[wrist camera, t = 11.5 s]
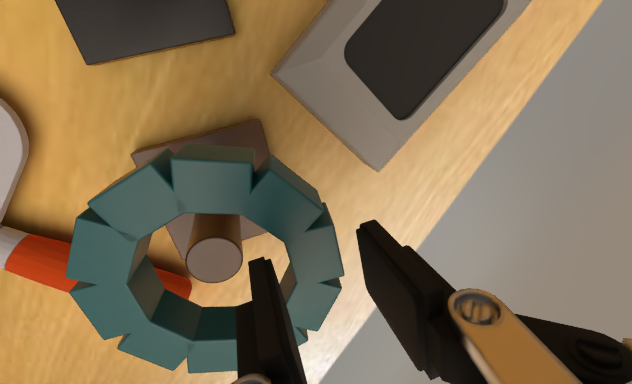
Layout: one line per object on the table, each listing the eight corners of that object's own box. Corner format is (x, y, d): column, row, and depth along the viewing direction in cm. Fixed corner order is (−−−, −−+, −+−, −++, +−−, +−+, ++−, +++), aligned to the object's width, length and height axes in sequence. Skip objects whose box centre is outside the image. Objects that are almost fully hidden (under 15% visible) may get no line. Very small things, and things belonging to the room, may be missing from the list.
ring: (305, 114, 12) (312, 123, 10) (348, 308, 16) (358, 340, 14) (44, 177, 11) (0, 199, 9) (160, 358, 15) (145, 398, 14)
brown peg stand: (258, 118, 20) (279, 149, 12) (287, 219, 23) (319, 296, 15) (134, 150, 19) (65, 209, 11) (183, 252, 22) (159, 356, 14)
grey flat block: (278, 74, 16) (479, -173, 14) (269, 73, 19) (432, -128, 18) (386, 178, 20) (551, -5, 19) (364, 163, 23) (502, 7, 22)
